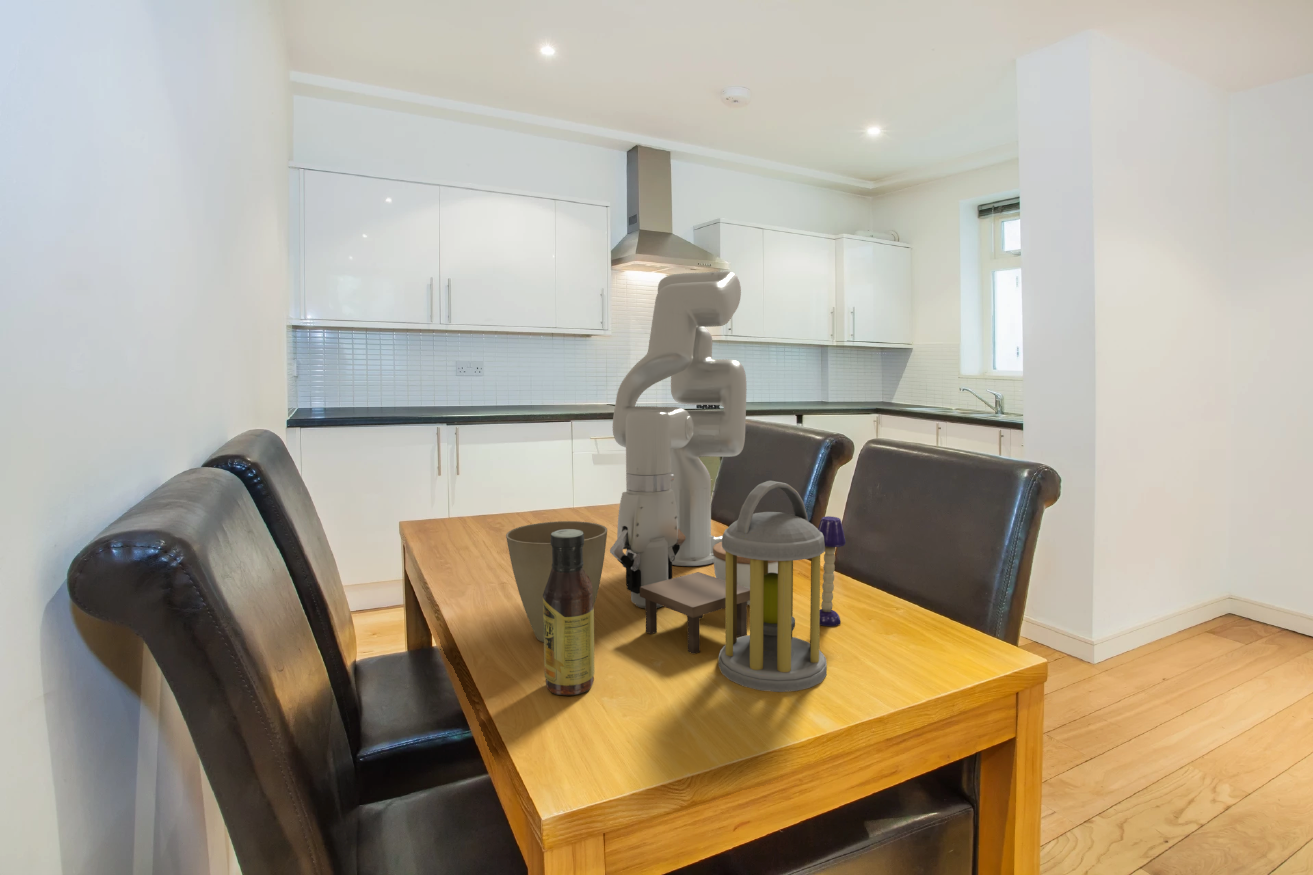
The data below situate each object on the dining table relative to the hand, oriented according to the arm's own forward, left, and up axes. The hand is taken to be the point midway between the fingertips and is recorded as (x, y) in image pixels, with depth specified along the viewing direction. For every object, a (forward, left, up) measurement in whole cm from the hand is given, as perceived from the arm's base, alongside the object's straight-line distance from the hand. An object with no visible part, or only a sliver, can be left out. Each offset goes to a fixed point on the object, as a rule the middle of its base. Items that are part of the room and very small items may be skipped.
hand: (649, 586), depth 115 cm
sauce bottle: (+27, +18, -3) cm, 33 cm away
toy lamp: (-16, +25, -3) cm, 30 cm away
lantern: (+3, +30, -3) cm, 31 cm away
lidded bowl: (-15, +9, -3) cm, 18 cm away
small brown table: (+3, +15, -3) cm, 16 cm away
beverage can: (0, 0, -3) cm, 3 cm away
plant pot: (+19, +2, -3) cm, 19 cm away
